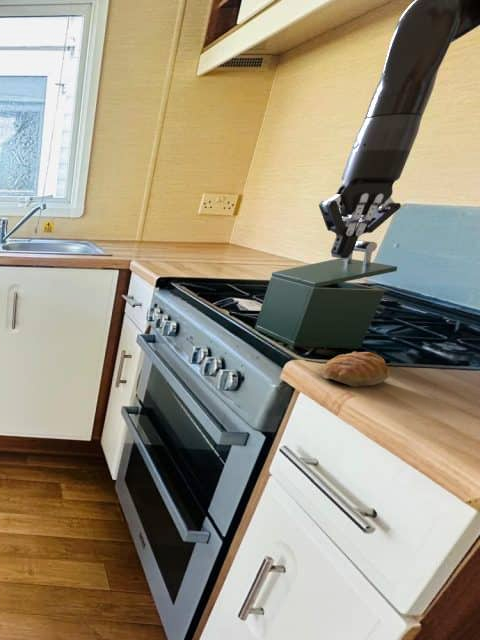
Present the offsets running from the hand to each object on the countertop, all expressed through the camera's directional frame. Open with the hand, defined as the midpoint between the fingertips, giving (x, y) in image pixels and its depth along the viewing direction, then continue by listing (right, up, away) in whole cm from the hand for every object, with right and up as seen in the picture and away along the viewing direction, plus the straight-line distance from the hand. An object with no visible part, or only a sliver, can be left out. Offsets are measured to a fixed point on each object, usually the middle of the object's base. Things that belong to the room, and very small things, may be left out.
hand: (339, 257), depth 77 cm
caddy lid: (-1, -3, +1) cm, 3 cm away
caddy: (-1, -14, +6) cm, 16 cm away
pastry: (-10, -23, -13) cm, 28 cm away
